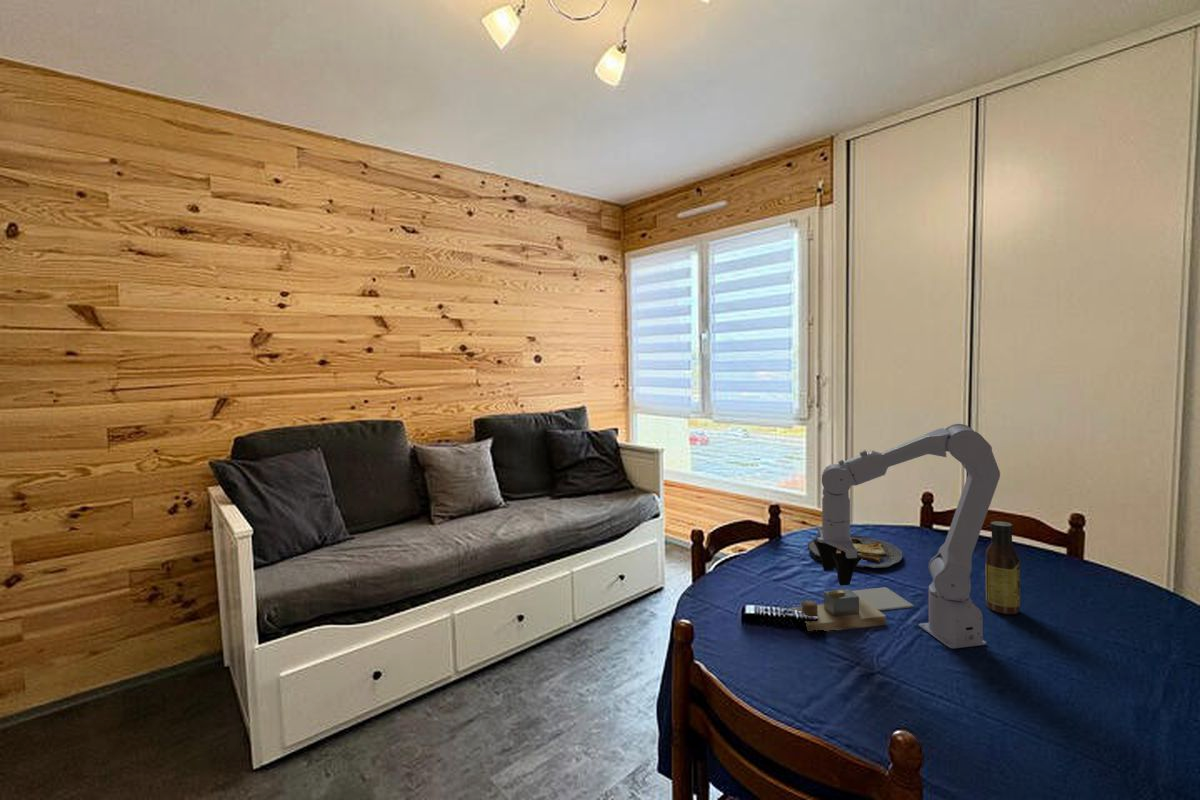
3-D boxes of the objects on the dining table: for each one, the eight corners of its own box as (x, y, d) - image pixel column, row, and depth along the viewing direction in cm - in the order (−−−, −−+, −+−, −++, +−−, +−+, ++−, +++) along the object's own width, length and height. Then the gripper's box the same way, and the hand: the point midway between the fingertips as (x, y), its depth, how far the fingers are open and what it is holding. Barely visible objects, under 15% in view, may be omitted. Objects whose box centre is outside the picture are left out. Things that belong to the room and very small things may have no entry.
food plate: (803, 563, 153) (803, 551, 152) (812, 537, 173) (812, 527, 173) (903, 579, 141) (904, 566, 141) (900, 549, 162) (901, 538, 161)
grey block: (848, 605, 123) (848, 586, 123) (859, 614, 119) (858, 594, 119) (824, 608, 122) (823, 589, 122) (833, 616, 118) (833, 596, 118)
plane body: (864, 607, 126) (863, 589, 125) (886, 624, 118) (885, 605, 117) (791, 615, 124) (790, 597, 123) (808, 633, 116) (807, 613, 115)
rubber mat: (913, 606, 125) (913, 605, 125) (873, 611, 124) (873, 609, 124) (885, 588, 135) (885, 587, 135) (848, 592, 134) (848, 591, 134)
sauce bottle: (1025, 616, 118) (1027, 528, 116) (994, 615, 119) (995, 528, 118) (1009, 603, 125) (1010, 519, 123) (979, 601, 126) (980, 519, 124)
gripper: (804, 510, 127) (805, 565, 128) (833, 530, 113) (833, 592, 114) (834, 508, 127) (834, 563, 128) (866, 528, 113) (866, 590, 114)
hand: (836, 577), depth 121 cm, fingers open, 7 cm apart
